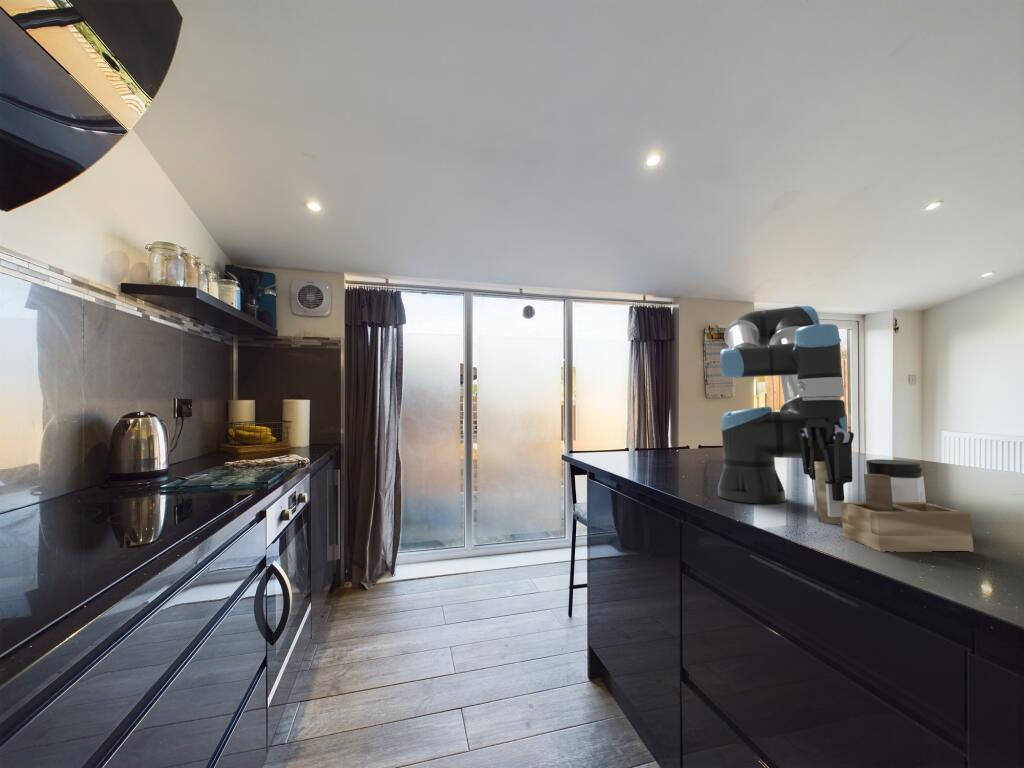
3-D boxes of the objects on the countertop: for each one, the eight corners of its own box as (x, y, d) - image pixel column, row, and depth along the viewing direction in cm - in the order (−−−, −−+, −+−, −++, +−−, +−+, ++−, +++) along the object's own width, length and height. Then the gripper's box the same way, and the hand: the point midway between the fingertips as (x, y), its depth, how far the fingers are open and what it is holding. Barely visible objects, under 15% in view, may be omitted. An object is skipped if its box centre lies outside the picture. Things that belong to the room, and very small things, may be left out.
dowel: (814, 519, 84) (810, 461, 85) (832, 519, 84) (828, 460, 85) (826, 523, 81) (822, 463, 82) (845, 523, 81) (840, 463, 81)
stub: (862, 525, 71) (858, 473, 72) (883, 525, 71) (879, 473, 71) (878, 531, 68) (874, 477, 68) (900, 531, 67) (896, 476, 68)
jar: (919, 531, 75) (914, 466, 76) (863, 521, 82) (859, 461, 83) (932, 522, 80) (926, 461, 81) (878, 514, 87) (874, 458, 88)
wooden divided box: (843, 536, 73) (840, 502, 74) (926, 536, 72) (923, 502, 73) (880, 551, 65) (877, 513, 66) (973, 551, 64) (970, 513, 65)
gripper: (779, 400, 92) (786, 504, 91) (829, 398, 76) (839, 525, 75) (813, 399, 92) (821, 504, 90) (872, 397, 76) (882, 525, 74)
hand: (829, 513), depth 83 cm, fingers closed on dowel, 3 cm apart
